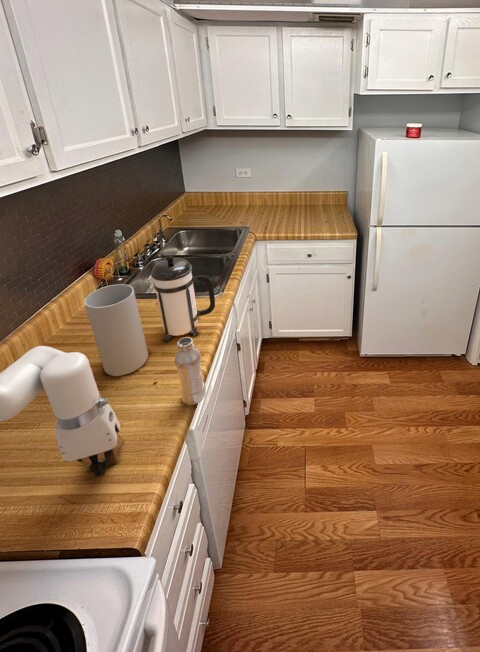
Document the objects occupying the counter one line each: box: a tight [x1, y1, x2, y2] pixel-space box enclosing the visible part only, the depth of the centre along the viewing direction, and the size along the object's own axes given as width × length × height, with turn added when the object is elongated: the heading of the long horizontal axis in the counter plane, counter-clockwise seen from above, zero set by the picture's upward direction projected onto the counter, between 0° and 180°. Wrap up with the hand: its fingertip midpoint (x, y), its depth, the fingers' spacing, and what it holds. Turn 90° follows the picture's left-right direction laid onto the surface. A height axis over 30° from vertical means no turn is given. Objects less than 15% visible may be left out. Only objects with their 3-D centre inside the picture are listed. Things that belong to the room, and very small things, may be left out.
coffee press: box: [147, 254, 216, 342], centre depth 116 cm, size 17×16×30 cm
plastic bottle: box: [174, 336, 207, 406], centre depth 89 cm, size 6×7×20 cm
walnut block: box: [107, 446, 121, 467], centre depth 77 cm, size 5×5×5 cm
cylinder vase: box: [83, 283, 149, 377], centre depth 101 cm, size 12×12×25 cm
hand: (101, 469), depth 74 cm, fingers closed
